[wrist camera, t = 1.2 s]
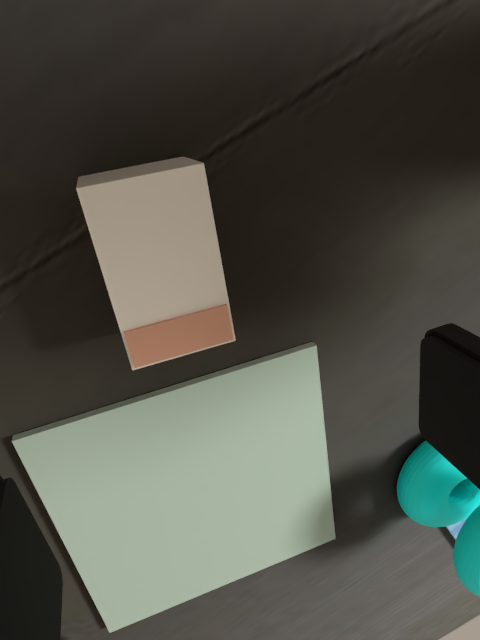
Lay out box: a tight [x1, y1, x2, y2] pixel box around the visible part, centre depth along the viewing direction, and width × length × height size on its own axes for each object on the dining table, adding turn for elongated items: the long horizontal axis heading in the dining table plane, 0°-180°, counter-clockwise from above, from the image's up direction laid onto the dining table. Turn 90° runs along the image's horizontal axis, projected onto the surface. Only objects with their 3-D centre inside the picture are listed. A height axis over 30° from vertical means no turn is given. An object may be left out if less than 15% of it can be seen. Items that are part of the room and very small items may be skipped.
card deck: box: [76, 156, 236, 371], centre depth 23 cm, size 6×9×5 cm, turn 9°
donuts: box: [397, 440, 480, 597], centre depth 36 cm, size 10×10×10 cm
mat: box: [12, 342, 336, 633], centre depth 33 cm, size 20×20×1 cm
